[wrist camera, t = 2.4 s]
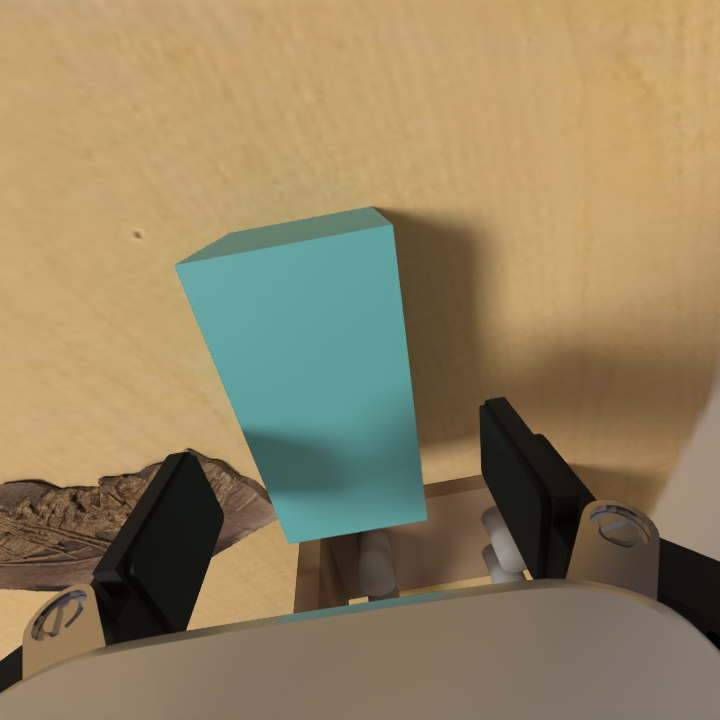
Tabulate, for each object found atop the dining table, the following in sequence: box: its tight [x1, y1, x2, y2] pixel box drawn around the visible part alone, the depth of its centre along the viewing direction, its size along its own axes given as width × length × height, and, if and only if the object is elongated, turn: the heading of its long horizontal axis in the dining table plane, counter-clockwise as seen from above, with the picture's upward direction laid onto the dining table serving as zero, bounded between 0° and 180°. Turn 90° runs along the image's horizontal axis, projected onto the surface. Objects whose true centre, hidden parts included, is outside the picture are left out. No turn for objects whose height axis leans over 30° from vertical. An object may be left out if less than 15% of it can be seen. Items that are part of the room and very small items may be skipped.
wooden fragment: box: [0, 449, 278, 592], centre depth 22 cm, size 26×11×1 cm, turn 100°
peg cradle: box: [293, 475, 527, 614], centre depth 20 cm, size 16×9×9 cm, turn 100°
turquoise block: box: [174, 206, 427, 544], centre depth 15 cm, size 12×6×6 cm, turn 9°
